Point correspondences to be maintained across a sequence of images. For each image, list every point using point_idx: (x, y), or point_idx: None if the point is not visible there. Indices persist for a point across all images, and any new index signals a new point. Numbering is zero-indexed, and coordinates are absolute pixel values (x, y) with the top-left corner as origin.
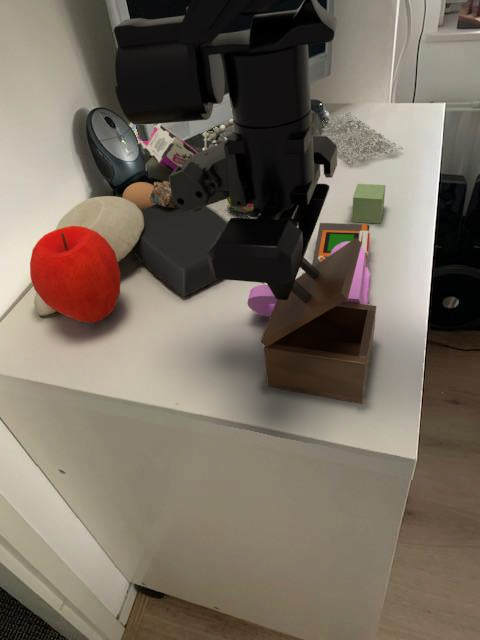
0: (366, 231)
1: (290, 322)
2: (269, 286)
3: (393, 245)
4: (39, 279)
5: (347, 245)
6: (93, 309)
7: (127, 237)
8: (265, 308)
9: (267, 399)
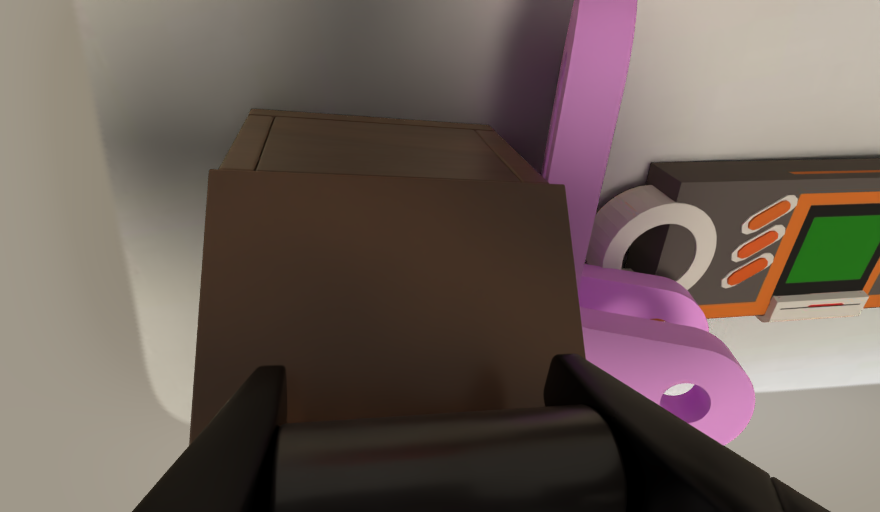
0: (857, 312)
1: (206, 376)
2: (184, 454)
3: (799, 331)
4: None
5: None
6: None
7: None
8: (566, 55)
9: (200, 116)
